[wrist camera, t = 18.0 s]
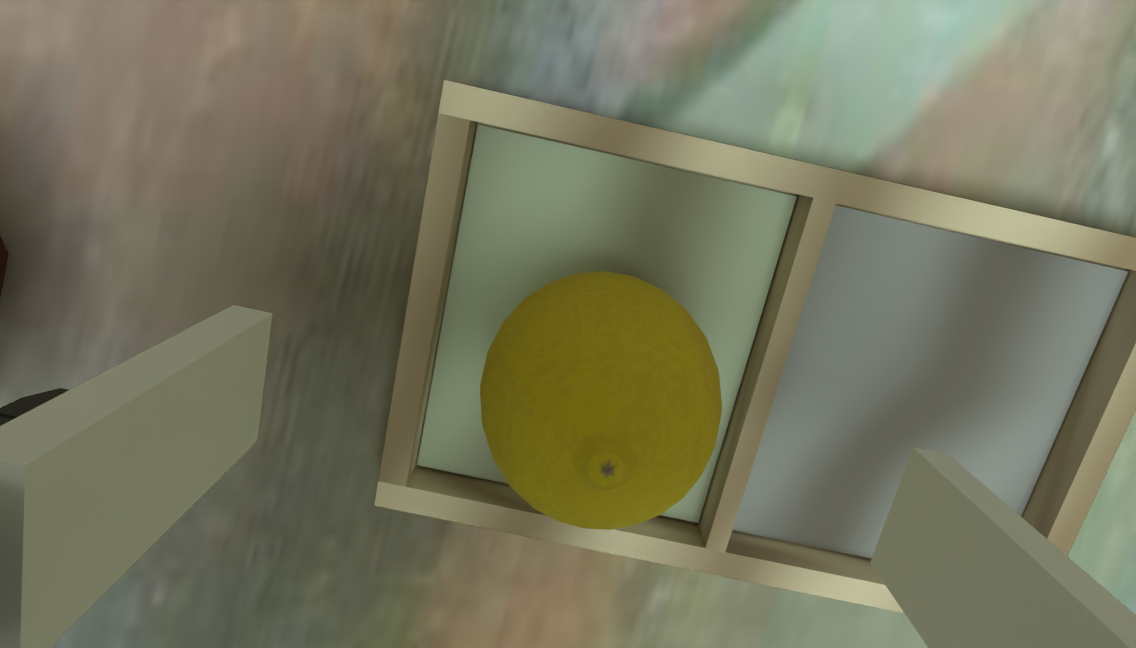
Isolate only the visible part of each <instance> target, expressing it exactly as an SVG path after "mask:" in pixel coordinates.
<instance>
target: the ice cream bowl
mask: <svg viewBox="0 0 1136 648" xmlns="http://www.w3.org/2000/svg"><path fill="white" fill-rule="evenodd" d="M7 257H8V253H7V251H6V249H5V247H4V245H3V242H2V240H1V238H0V295H1V290H2V284H3V279H4V273H5V268H6V262H7Z"/></svg>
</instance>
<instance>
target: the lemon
mask: <svg viewBox="0 0 1136 648" xmlns="http://www.w3.org/2000/svg"><path fill="white" fill-rule="evenodd" d="M480 401H481V419H482V426H483V429H484V432H485V435H486V438H487V441H488V445H489V448H490V451H491V454H492V457H493V459H494V461H495V463H496V465H497V466H498V468H499V469H500V471H501V472H502V474H503V476H504V477H505V479H506V480H507V482H508V483H509V485H510V486H511V487H512V488H513V490H514V491H516V492H517V493H518V494H519V495H520V496H521V497H522V498H523V499H524V500H525V501H526V502H527V503H529V504H530V505H531V506H532V507H533V508H534V509H536V510H538V511H540V512H542V513H543V514H545V515H547V516H549V517H551V518H552V519H554V520H556V521H559V522H562V523H566V524H569V525H573V526H576V527H580V528H584V529H604V530H611V529H617V528H622V527H628V526H634V525H637V524H640V523H642V522H644V521H647V520H649V519H651V518H654V517H656V516H659V515H661V514H662V513H664V512H665V511H666V510H668V509H669V508H671V507H672V506H673V505H675V504H676V503H677V502H679V501H680V500H681V499H683V498H684V496H685V495H686V494H687V493H688V491H689V490H690V489H691V488H692V487H693V485H694V484H695V483H696V482H697V481H698V479H699V478H700V477H701V475H702V474H703V472H704V470H705V468H706V465H707V463H708V461H709V459H710V457H711V455H712V453H713V451H714V448H715V445H716V441H717V436H718V430H719V425H720V419H721V413H722V400H721V389H720V378H719V371H718V367H717V365H716V362H715V359H714V357H713V354H712V351H711V349H710V346H709V343H708V341H707V338H706V336H705V335H704V333H703V332H702V331H701V329H700V328H699V326H698V325H697V324H696V322H695V321H694V319H693V318H692V317H691V315H690V314H689V313H688V311H687V310H686V309H685V308H684V307H683V306H682V305H680V304H679V303H678V302H677V301H675V300H674V299H673V298H672V297H670V296H669V295H668V294H667V293H665V292H664V291H663V290H662V289H660V288H658V287H656V286H654V285H652V284H649V283H647V282H645V281H643V280H641V279H638V278H636V277H634V276H629V275H624V274H618V273H612V272H607V271H600V272H587V273H576V274H573V275H570V276H567V277H564V278H561V279H558V280H555V281H552V282H550V283H548V284H546V285H545V286H543V287H542V288H540V289H538V290H537V291H535V292H534V293H532V294H531V295H529V296H527V297H526V298H524V300H523V301H522V302H521V303H520V304H519V305H518V306H517V307H516V308H515V309H514V310H513V312H512V313H511V314H510V315H509V316H508V317H507V318H506V319H505V320H504V321H503V323H502V325H501V327H500V329H499V331H498V333H497V334H496V336H495V338H494V340H493V342H492V344H491V346H490V348H489V350H488V352H487V357H486V361H485V366H484V370H483V374H482V379H481V383H480Z"/></svg>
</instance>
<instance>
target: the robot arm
mask: <svg viewBox="0 0 1136 648" xmlns="http://www.w3.org/2000/svg"><path fill="white" fill-rule="evenodd" d="M271 322H272V313H269V312H264V311H259V310H254V309H250V308H245V307H240V306H235V305H232V306H230V307H228V308H226V309H225V310H223V311H221V312H219V313H217V314H215V315H213V316H211V317H209V318H207V319H205V320H203V321H201V322H200V323H198V324H196V325H194V326H192V327H190V328H188V329H186V330H184V331H182V332H180V333H178V334H176V335H175V336H173V337H171V338H169V339H167V340H165V341H163V342H161V343H159V344H157V345H155V346H153V347H151V348H150V349H148V350H146V351H144V352H142V353H140V354H138V355H136V356H134V357H132V358H130V359H128V360H126V361H124V362H123V363H121V364H119V365H117V366H115V367H113V368H111V369H109V370H107V371H105V372H103V373H101V374H99V375H98V376H96V377H94V378H92V379H90V380H88V381H86V382H84V383H82V384H80V385H78V386H76V387H74V388H73V389H71V390H67V389H62V388H59V389H55V390H51V391H47V392H43V393H39V394H35V395H31V396H27V397H22V398H20V399H18V400H16V401H14V402H12V403H10V404H8V405H6V406H4V407H2V408H0V648H50V647H51V646H52V645H53V644H54V643H55V642H56V641H57V640H58V639H59V638H60V637H61V636H62V635H63V634H64V633H65V632H66V631H67V630H68V629H69V628H70V627H71V626H72V625H73V624H74V623H75V622H76V621H77V620H78V619H79V618H80V617H81V616H82V615H83V614H84V613H85V612H86V611H87V610H88V609H89V608H90V607H91V606H92V605H93V604H94V603H95V602H96V601H97V600H98V599H99V598H100V597H101V596H102V595H103V594H104V593H105V592H106V591H107V590H108V589H109V588H110V587H111V586H112V585H113V584H114V583H115V582H116V581H117V580H118V579H119V578H120V577H121V576H122V575H123V574H124V573H125V572H126V571H127V570H128V569H129V568H130V567H131V566H132V565H133V564H134V563H135V562H136V561H137V560H138V559H139V558H140V557H141V556H142V555H143V554H144V553H145V552H146V551H147V550H148V549H149V548H150V547H151V546H152V545H153V544H154V543H155V542H156V541H157V540H158V539H159V538H160V537H161V536H162V535H163V534H164V533H165V532H166V531H167V530H168V529H169V528H170V527H171V526H172V525H173V524H174V523H175V522H176V521H177V520H178V519H179V518H180V517H182V516H183V515H184V514H185V513H186V512H187V511H188V510H189V509H190V508H191V507H192V506H193V505H194V504H195V503H196V502H197V501H198V500H199V499H200V498H201V497H202V496H203V495H204V494H205V493H206V492H207V491H208V490H209V489H210V488H211V487H212V486H213V485H214V484H215V483H216V482H217V481H218V480H219V479H220V478H221V477H222V476H223V475H224V474H225V473H226V472H227V471H228V470H229V469H230V468H231V467H232V466H233V465H234V464H235V463H236V462H237V461H238V460H239V459H240V458H241V457H242V456H243V455H244V454H245V453H246V452H247V451H248V450H249V449H250V448H251V447H252V446H253V445H254V444H255V443H256V442H257V441H258V432H259V424H260V415H261V407H262V398H263V390H264V381H265V373H266V364H267V356H268V347H269V339H270V330H271ZM870 564H871V565H872V567H873V568H874V570H875V571H876V573H877V574H878V575H879V577H880V578H881V580H882V581H883V583H884V584H885V586H886V587H887V588H888V590H889V591H890V593H891V594H892V596H893V597H894V599H895V600H896V601H897V603H898V604H899V606H900V607H901V609H902V610H903V612H904V613H905V614H906V616H907V617H908V619H909V620H910V622H911V623H912V625H913V626H914V627H915V629H916V630H917V632H918V633H919V635H920V636H921V638H922V639H923V640H924V642H925V643H926V645H927V646H928V648H1136V615H1135V614H1134V613H1133V612H1132V611H1130V610H1129V609H1128V608H1127V607H1126V606H1125V605H1123V604H1122V603H1121V602H1120V601H1119V600H1118V599H1116V598H1115V597H1114V596H1113V595H1112V594H1111V593H1109V592H1108V591H1107V590H1106V589H1105V588H1104V587H1102V586H1101V585H1100V584H1099V583H1098V582H1097V581H1095V580H1094V579H1093V578H1092V577H1091V576H1090V575H1088V574H1087V573H1086V572H1085V571H1084V570H1083V569H1081V568H1080V567H1079V566H1078V565H1077V564H1076V563H1074V562H1073V561H1072V560H1071V559H1070V558H1069V557H1067V556H1066V555H1065V554H1064V553H1063V552H1062V551H1060V550H1059V549H1058V548H1057V547H1056V546H1055V545H1053V544H1052V543H1051V542H1050V541H1049V540H1048V539H1046V538H1045V537H1044V536H1043V535H1042V534H1041V533H1039V532H1038V531H1037V530H1036V529H1035V528H1034V527H1033V526H1031V525H1030V524H1029V523H1028V522H1027V521H1026V520H1024V519H1023V518H1022V517H1021V516H1020V515H1019V514H1017V513H1016V512H1015V511H1014V510H1013V509H1012V508H1010V507H1009V506H1008V505H1007V504H1006V503H1005V502H1003V501H1002V500H1001V499H1000V498H999V497H998V496H996V495H995V494H994V493H993V492H992V491H991V490H989V489H988V488H987V487H986V486H985V485H984V484H982V483H981V482H980V481H979V480H978V479H977V478H975V477H974V476H973V475H972V474H971V473H970V472H968V471H967V470H966V469H965V468H964V467H963V466H961V465H960V464H959V463H958V462H957V461H956V460H954V459H953V458H952V457H951V456H950V455H948V454H944V453H939V452H934V451H929V450H924V449H920V448H915V447H913V449H912V451H911V454H910V457H909V459H908V462H907V465H906V468H905V470H904V473H903V476H902V478H901V481H900V484H899V486H898V489H897V492H896V494H895V497H894V500H893V502H892V505H891V508H890V511H889V513H888V516H887V519H886V521H885V524H884V527H883V529H882V532H881V535H880V537H879V540H878V543H877V546H876V548H875V551H874V554H873V556H872V559H871V562H870Z"/></svg>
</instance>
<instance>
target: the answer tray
mask: <svg viewBox="0 0 1136 648" xmlns="http://www.w3.org/2000/svg"><path fill="white" fill-rule="evenodd" d="M600 271H607V272H612V273H618V274H624V275H629V276H634V277H636V278H638V279H641V280H643V281H645V282H647V283H649V284H652V285H654V286H656V287H658V288H660V289H662V290H663V291H664V292H665V293H667V294H668V295H669V296H670V297H672V298H673V299H674V300H675V301H677V302H678V303H679V304H680V305H682V306H683V307H684V308H685V309H686V310H687V311H688V313H689V314H690V315H691V317H692V318H693V319H694V321H695V322H696V324H697V325H698V326H699V328H700V329H701V331H702V332H703V333H704V335H705V336H706V338H707V341H708V343H709V346H710V349H711V351H712V354H713V357H714V359H715V362H716V365H717V367H718V371H719V378H720V389H721V400H722V413H721V419H720V425H719V430H718V436H717V441H716V445H715V448H714V451H713V453H712V455H711V457H710V459H709V461H708V463H707V465H706V468H705V470H704V472H703V474H702V475H701V477H700V478H699V479H698V481H697V482H696V483H695V484H694V485H693V487H692V488H691V489H690V490H689V491H688V493H687V494H686V495H685V496H684V498H683V499H681V500H680V501H679V502H677V503H676V504H675V505H673V506H672V507H671V508H669V509H668V510H666V511H665V512H664V513H662V514H661V515H659V516H656V517H654V518H651V519H649V520H647V521H644V522H642V523H640V524H637V525H634V526H628V527H622V528H617V529H611V530H604V529H584V528H580V527H576V526H573V525H569V524H566V523H562V522H559V521H556V520H554V519H552V518H551V517H549V516H547V515H545V514H543V513H542V512H540V511H538V510H536V509H534V508H533V507H532V506H531V505H530V504H529V503H527V502H526V501H525V500H524V499H523V498H522V497H521V496H520V495H519V494H518V493H517V492H516V491H514V490H513V488H512V487H511V486H510V485H509V483H508V482H507V480H506V479H505V477H504V476H503V474H502V472H501V471H500V469H499V468H498V466H497V465H496V463H495V461H494V459H493V457H492V454H491V451H490V448H489V445H488V441H487V438H486V435H485V432H484V429H483V426H482V419H481V401H480V383H481V379H482V374H483V370H484V366H485V361H486V357H487V352H488V350H489V348H490V346H491V344H492V342H493V340H494V338H495V336H496V334H497V333H498V331H499V329H500V327H501V325H502V323H503V321H504V320H505V319H506V318H507V317H508V316H509V315H510V314H511V313H512V312H513V310H514V309H515V308H516V307H517V306H518V305H519V304H520V303H521V302H522V301H523V300H524V298H526V297H527V296H529V295H531V294H532V293H534V292H535V291H537V290H538V289H540V288H542V287H543V286H545V285H546V284H548V283H550V282H552V281H555V280H558V279H561V278H564V277H567V276H570V275H573V274H576V273H587V272H600ZM1135 411H1136V238H1134V237H1130V236H1125V235H1121V234H1117V233H1112V232H1108V231H1103V230H1099V229H1095V228H1090V227H1086V226H1082V225H1077V224H1073V223H1068V222H1064V221H1060V220H1055V219H1051V218H1047V217H1042V216H1038V215H1033V214H1029V213H1025V212H1020V211H1016V210H1012V209H1007V208H1003V207H998V206H994V205H990V204H985V203H981V202H976V201H972V200H968V199H963V198H959V197H955V196H950V195H946V194H941V193H937V192H933V191H928V190H924V189H920V188H915V187H911V186H906V185H902V184H898V183H893V182H889V181H885V180H880V179H876V178H871V177H867V176H863V175H858V174H854V173H850V172H845V171H841V170H836V169H832V168H828V167H823V166H819V165H815V164H810V163H806V162H801V161H797V160H793V159H788V158H784V157H780V156H775V155H771V154H766V153H762V152H758V151H753V150H749V149H744V148H740V147H736V146H731V145H727V144H723V143H718V142H714V141H709V140H705V139H701V138H696V137H692V136H688V135H683V134H679V133H674V132H670V131H666V130H661V129H657V128H653V127H648V126H644V125H639V124H635V123H631V122H626V121H622V120H618V119H613V118H609V117H604V116H600V115H596V114H591V113H587V112H583V111H578V110H574V109H569V108H565V107H561V106H556V105H552V104H547V103H543V102H539V101H534V100H530V99H526V98H521V97H517V96H512V95H508V94H504V93H499V92H495V91H491V90H486V89H482V88H477V87H473V86H469V85H464V84H460V83H456V82H451V81H447V80H444V83H443V89H442V95H441V101H440V107H439V114H438V120H437V126H436V132H435V138H434V144H433V150H432V156H431V162H430V168H429V175H428V181H427V187H426V193H425V199H424V205H423V211H422V217H421V223H420V230H419V236H418V242H417V248H416V254H415V260H414V266H413V272H412V278H411V284H410V291H409V297H408V303H407V309H406V315H405V321H404V327H403V333H402V339H401V346H400V352H399V358H398V364H397V370H396V376H395V382H394V388H393V394H392V401H391V407H390V413H389V419H388V425H387V431H386V437H385V443H384V449H383V455H382V462H381V468H380V474H379V480H378V486H377V492H376V498H375V504H374V506H379V507H384V508H389V509H394V510H398V511H403V512H408V513H413V514H418V515H423V516H428V517H433V518H438V519H443V520H448V521H453V522H458V523H462V524H467V525H472V526H477V527H482V528H487V529H492V530H497V531H502V532H507V533H512V534H517V535H522V536H527V537H531V538H536V539H541V540H546V541H551V542H556V543H561V544H566V545H571V546H576V547H581V548H586V549H591V550H595V551H600V552H605V553H610V554H615V555H620V556H625V557H630V558H635V559H640V560H645V561H650V562H655V563H659V564H664V565H669V566H674V567H679V568H684V569H689V570H694V571H699V572H704V573H709V574H714V575H719V576H724V577H728V578H733V579H738V580H743V581H748V582H753V583H758V584H763V585H768V586H773V587H778V588H783V589H788V590H792V591H797V592H802V593H807V594H812V595H817V596H822V597H827V598H832V599H837V600H842V601H847V602H852V603H857V604H861V605H866V606H871V607H876V608H881V609H886V610H891V611H896V612H901V613H904V612H903V610H902V609H901V607H900V606H899V604H898V603H897V601H896V600H895V599H894V597H893V596H892V594H891V593H890V591H889V590H888V588H887V587H886V586H885V584H884V583H883V581H882V580H881V578H880V577H879V575H878V574H877V573H876V571H875V570H874V568H873V567H872V565H871V564H870V562H871V559H872V556H873V554H874V551H875V548H876V546H877V543H878V540H879V537H880V535H881V532H882V529H883V527H884V524H885V521H886V519H887V516H888V513H889V511H890V508H891V505H892V502H893V500H894V497H895V494H896V492H897V489H898V486H899V484H900V481H901V478H902V476H903V473H904V470H905V468H906V465H907V462H908V459H909V457H910V454H911V451H912V449H913V447H915V448H920V449H924V450H929V451H934V452H939V453H944V454H948V455H950V456H951V457H952V458H953V459H954V460H956V461H957V462H958V463H959V464H960V465H961V466H963V467H964V468H965V469H966V470H967V471H968V472H970V473H971V474H972V475H973V476H974V477H975V478H977V479H978V480H979V481H980V482H981V483H982V484H984V485H985V486H986V487H987V488H988V489H989V490H991V491H992V492H993V493H994V494H995V495H996V496H998V497H999V498H1000V499H1001V500H1002V501H1003V502H1005V503H1006V504H1007V505H1008V506H1009V507H1010V508H1012V509H1013V510H1014V511H1015V512H1016V513H1017V514H1019V515H1020V516H1021V517H1022V518H1023V519H1024V520H1026V521H1027V522H1028V523H1029V524H1030V525H1031V526H1033V527H1034V528H1035V529H1036V530H1037V531H1038V532H1039V533H1041V534H1042V535H1043V536H1044V537H1045V538H1046V539H1048V540H1049V541H1050V542H1051V543H1052V544H1053V545H1055V546H1056V547H1057V548H1058V549H1059V550H1060V551H1062V552H1063V553H1064V554H1065V555H1066V556H1067V557H1068V555H1069V552H1070V550H1071V548H1072V546H1073V544H1074V542H1075V540H1076V537H1077V535H1078V533H1079V531H1080V529H1081V527H1082V524H1083V522H1084V520H1085V518H1086V516H1087V514H1088V512H1089V509H1090V507H1091V505H1092V503H1093V501H1094V499H1095V497H1096V494H1097V492H1098V490H1099V488H1100V486H1101V484H1102V482H1103V479H1104V477H1105V475H1106V473H1107V471H1108V469H1109V466H1110V464H1111V462H1112V460H1113V458H1114V456H1115V454H1116V451H1117V449H1118V447H1119V445H1120V443H1121V441H1122V439H1123V436H1124V434H1125V432H1126V430H1127V428H1128V426H1129V423H1130V421H1131V419H1132V417H1133V415H1134V413H1135Z"/></svg>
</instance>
